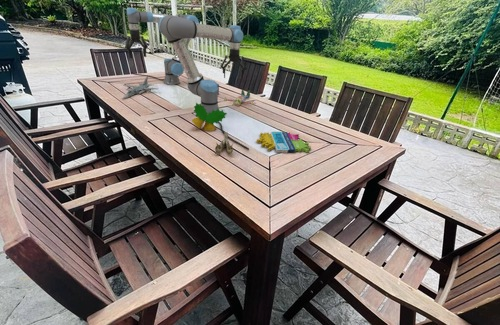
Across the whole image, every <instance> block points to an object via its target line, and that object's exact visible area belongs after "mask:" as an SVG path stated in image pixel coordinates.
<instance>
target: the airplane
mask: <svg viewBox="0 0 500 325" xmlns="http://www.w3.org/2000/svg"><path fill="white" fill-rule="evenodd" d="M148 78H149V75H148V76H145V79H144V80H143V83H142V82H139V83H138V86H137V85H127V84H123V85H122V86H124V87H127V88H126V89H125V90H126V91H127V90H128V91H127V93H125V94H124V95H123V97H122V98H121V99H123V100H124V99H128V98H130V97H132V96H133V95H134V96H135V95H140V94H142V93H145V92H146V91H147V93H149V92H151V91H152V90H158V88H155V87H151V86H153V84H149V81H148Z"/></svg>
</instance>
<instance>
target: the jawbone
mask: <svg viewBox="0 0 500 325" xmlns="http://www.w3.org/2000/svg"><path fill="white" fill-rule="evenodd" d="M223 135H224V136H223V140H222V139H221V142H220V144H218V142H215V144H216V146H215V148H214V149H215V152H214V154H215V155H217V156H218V155H220V153H221V152H223V151H224V150H226V152H227V153H228V155H229V156H233V155H234V154H233V153H234V148H233V144H234V143H230V140H228V139H229V138H228V136H229V133H228V131H226V132H225V131H224V134H223Z"/></svg>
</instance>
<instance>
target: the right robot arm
mask: <svg viewBox="0 0 500 325" xmlns="http://www.w3.org/2000/svg"><path fill="white" fill-rule="evenodd" d="M166 15H167V16H164V17H162V18H161V19H160V21H159V23H158V30H159V32H160V34H162V36H163V37H165V39H166V41H167V43H168V44H169V45H171V46H172V48H173V51H174V52H175V53H176V54H177V56H178V58H179V60H180V62H181V65H182V67H183V69H184V73H185V75H186V77H187V78H186V82H187V89H188V91H189V92H190V93H191V94H193V95H195V96H197V97H199V98H200V104H201V106H204V109H206V112H208V113H211V112H212V110H214V111H216V110H217V109H219V111H221V110H220V108H219V102H218V99H219V98H218V97H219V95H218V85H217V84H218V83H217V82H216V80H213V79H207V78H206V79H205V78H204V76H203V74H202V73H200V72H199V70H198V67H197V65H196V62H195V60H194V57H193V56H192V54H191V52H190V49H189V46H188V47H187V44H186V42H185V40H184V39H185V38H191V40H192V39H193V40H194V39H195V38H200V39H207V40H208V39H210V40H219V41H224V42H225V41H226V42H229V53H228V54H229V55H227V54H225V55H224V58H223V61H222V63H221V65H220V69H222V74H223V79H226V68H227V66H228V65H229V64H231V62H232V63H238V65H239V67H241V75H240V76H241V77H240V79H241V80H243V79H244V78H243V77H244V75H245V71H247V70H248V68H247V65H246V63H245V60H244V56H243V55H242V56H240V52H241V50H240V49H241V42H242V41H243V39H244V32H243V31H242V29H241V28H242V27H241V25H234V24H232V25H230V27H222V26H216V25H210V24H204V23H199V24H198V23H196V22H195V21H191V20H187V19H184V18H181V17H177V16H175V15H174V16H170V15H171V14H166ZM227 59H228V61H227ZM240 60H241V62H242V63H241V62H240ZM226 61H227V62H226ZM242 64H243V65H242ZM208 113H207V115H208ZM217 124H219V126H220V130H221V133H222V134H223V135H224V133H225V131H224V129H223V125H222V123H221V121H219V122H218V123H217ZM228 139H229V140H230V141H232V142H233V143H235V144H238V145H239V146H241V147H243V148H245V149H246V150H250V148H249V147H247V146H246V145H244V144H242V143H240V142H239V141H237V140H235V139H233V138H232V137H231V136H229V135H228Z"/></svg>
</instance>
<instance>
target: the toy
mask: <svg viewBox="0 0 500 325" xmlns="http://www.w3.org/2000/svg"><path fill="white" fill-rule="evenodd" d="M240 92H241V93H240V95H238V96H237V97H235V99H233V98H230V99H228V98H227V97H226V96H225V97H224V98H223V101H224V102H233V103H232V104H233V105H235V106H242V103H243V104H247V105H252V106H255V105H256V104H257V103H256V102H254V101H253V100H252V101H251V102H250V101H248V100H246V99H248V98H250V97H251V90H250V89H249V90H248V91H247V92H246V93H245V91H244V89H242V90H241V91H240Z"/></svg>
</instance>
